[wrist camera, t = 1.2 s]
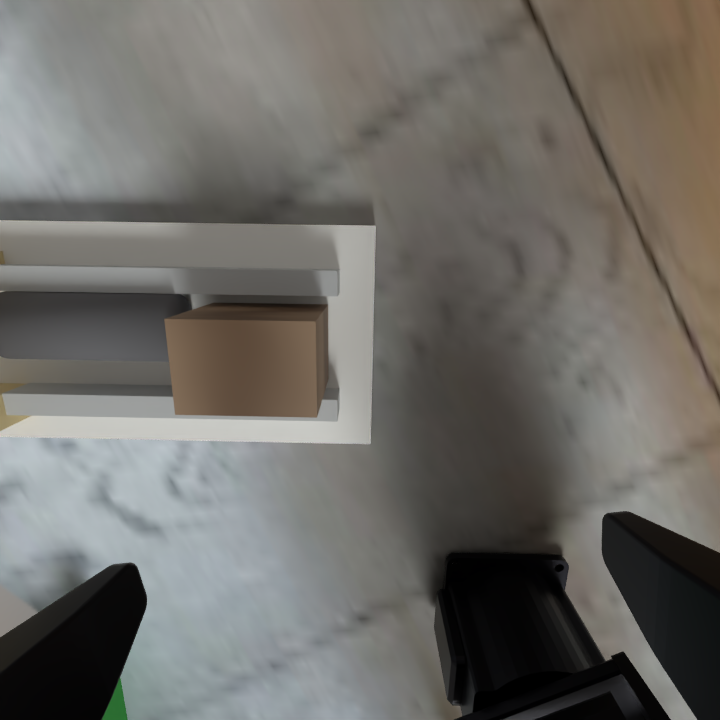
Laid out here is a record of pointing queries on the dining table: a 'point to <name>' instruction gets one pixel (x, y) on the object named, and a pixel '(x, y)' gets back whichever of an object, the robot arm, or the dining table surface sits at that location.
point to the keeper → (249, 359)
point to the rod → (87, 325)
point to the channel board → (200, 287)
